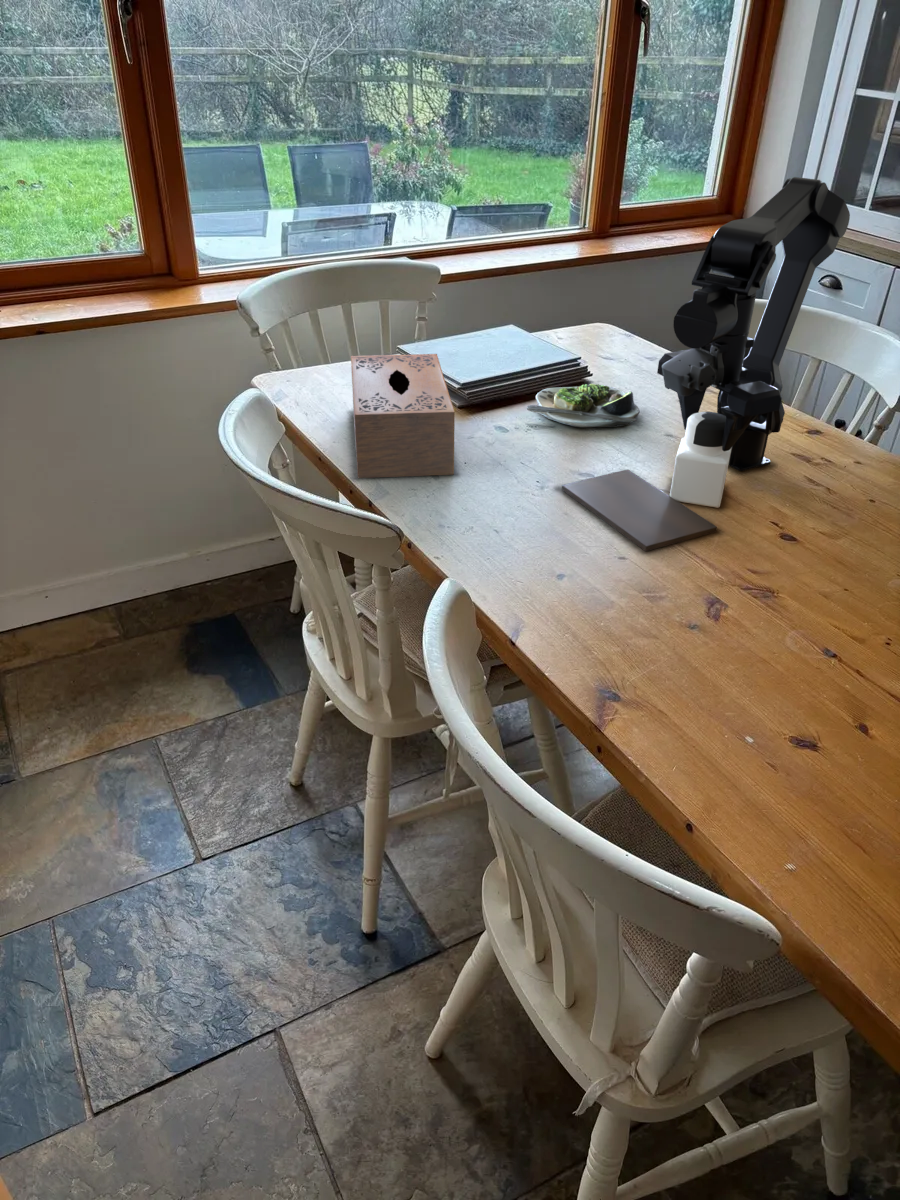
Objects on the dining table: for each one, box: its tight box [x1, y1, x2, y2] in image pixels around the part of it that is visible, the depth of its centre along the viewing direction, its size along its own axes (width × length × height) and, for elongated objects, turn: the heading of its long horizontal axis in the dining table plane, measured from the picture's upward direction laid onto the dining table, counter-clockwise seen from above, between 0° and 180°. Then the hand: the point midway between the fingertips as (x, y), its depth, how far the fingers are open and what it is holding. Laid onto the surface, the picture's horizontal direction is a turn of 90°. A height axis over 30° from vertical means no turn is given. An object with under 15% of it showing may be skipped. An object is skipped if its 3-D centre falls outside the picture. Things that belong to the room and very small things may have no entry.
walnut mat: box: [561, 469, 718, 552], centre depth 128 cm, size 12×20×1 cm, turn 27°
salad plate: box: [526, 383, 640, 428], centre depth 157 cm, size 19×18×5 cm
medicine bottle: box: [669, 411, 732, 509], centre depth 129 cm, size 7×7×12 cm
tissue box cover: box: [350, 353, 456, 479], centre depth 144 cm, size 26×14×10 cm, turn 6°
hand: (706, 439), depth 128 cm, fingers open, 8 cm apart
